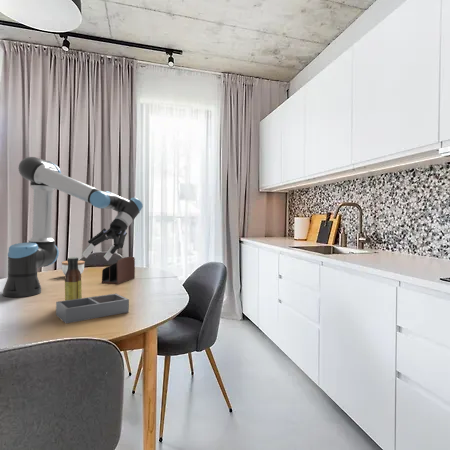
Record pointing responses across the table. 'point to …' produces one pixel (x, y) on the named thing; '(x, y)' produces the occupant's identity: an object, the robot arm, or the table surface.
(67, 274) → the sauce bottle
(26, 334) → the table surface
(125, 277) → the letter holder
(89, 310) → the slot caddy
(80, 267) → the lidded sugar bowl
